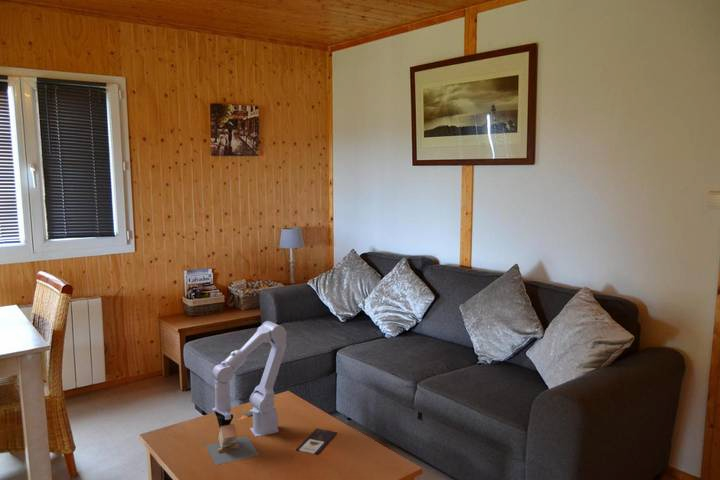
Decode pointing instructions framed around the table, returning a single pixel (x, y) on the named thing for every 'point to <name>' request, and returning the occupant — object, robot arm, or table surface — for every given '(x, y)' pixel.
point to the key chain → (247, 414)
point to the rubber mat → (232, 451)
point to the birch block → (227, 435)
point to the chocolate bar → (316, 441)
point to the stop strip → (228, 448)
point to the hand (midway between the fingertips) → (224, 430)
